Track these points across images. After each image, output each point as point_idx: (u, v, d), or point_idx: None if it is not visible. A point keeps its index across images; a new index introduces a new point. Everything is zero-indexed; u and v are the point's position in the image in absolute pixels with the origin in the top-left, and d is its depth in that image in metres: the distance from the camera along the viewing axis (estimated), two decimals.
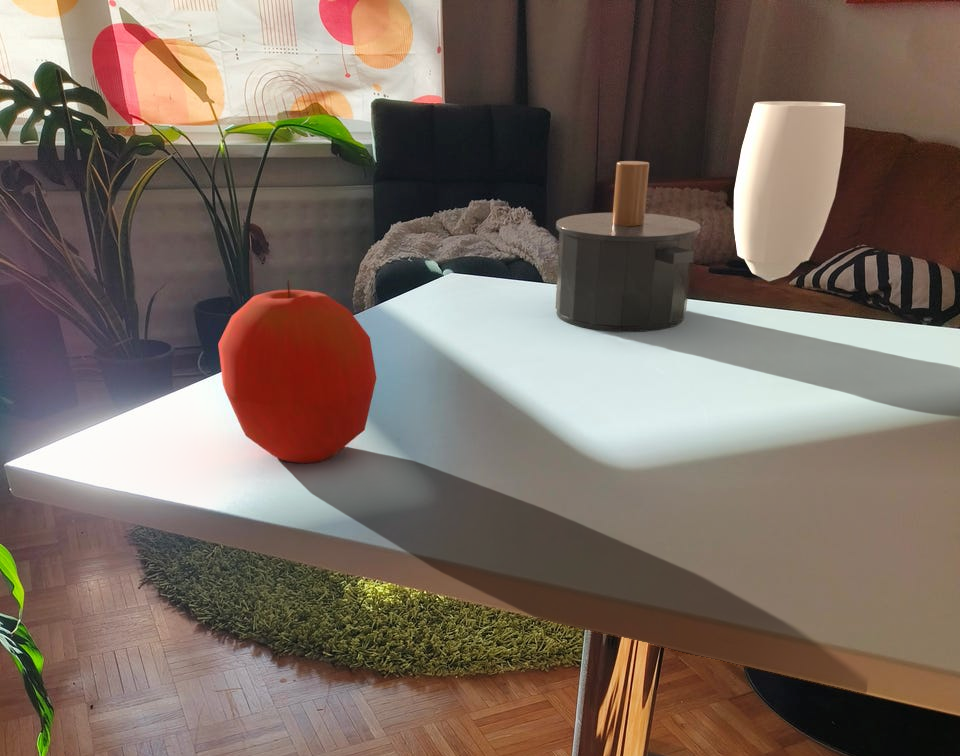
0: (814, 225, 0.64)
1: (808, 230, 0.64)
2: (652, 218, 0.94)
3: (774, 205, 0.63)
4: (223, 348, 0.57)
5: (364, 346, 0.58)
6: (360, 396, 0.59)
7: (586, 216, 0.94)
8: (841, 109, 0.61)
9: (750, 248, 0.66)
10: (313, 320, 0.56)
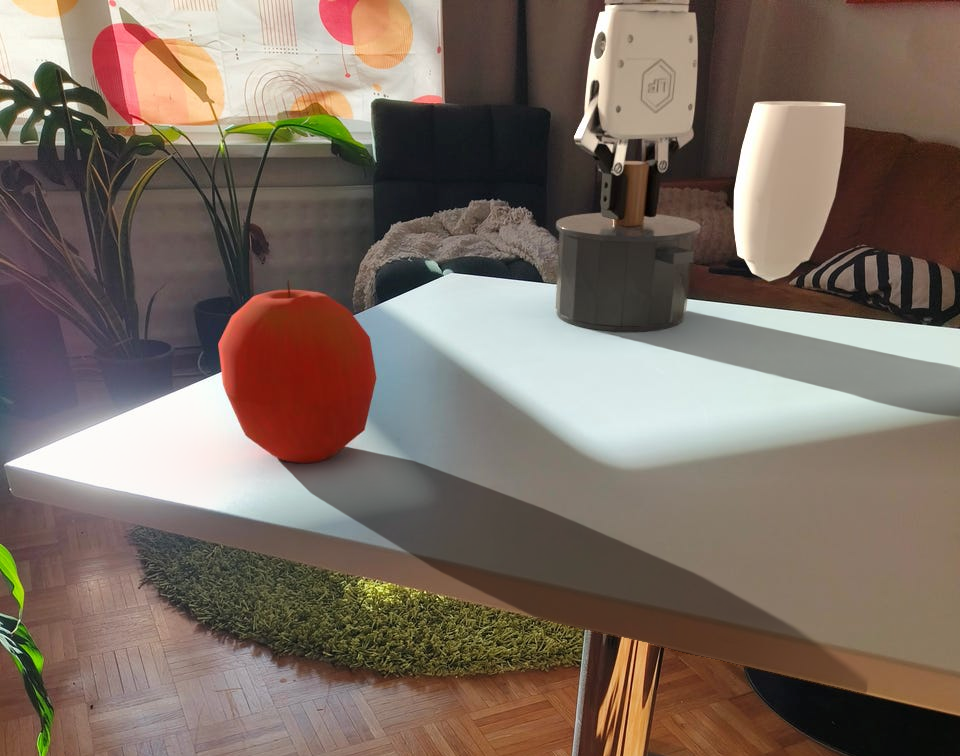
0: (814, 225, 0.64)
1: (808, 230, 0.64)
2: (652, 218, 0.94)
3: (774, 205, 0.63)
4: (223, 348, 0.57)
5: (364, 346, 0.58)
6: (360, 396, 0.59)
7: (586, 216, 0.94)
8: (841, 109, 0.61)
9: (750, 248, 0.66)
10: (313, 320, 0.56)
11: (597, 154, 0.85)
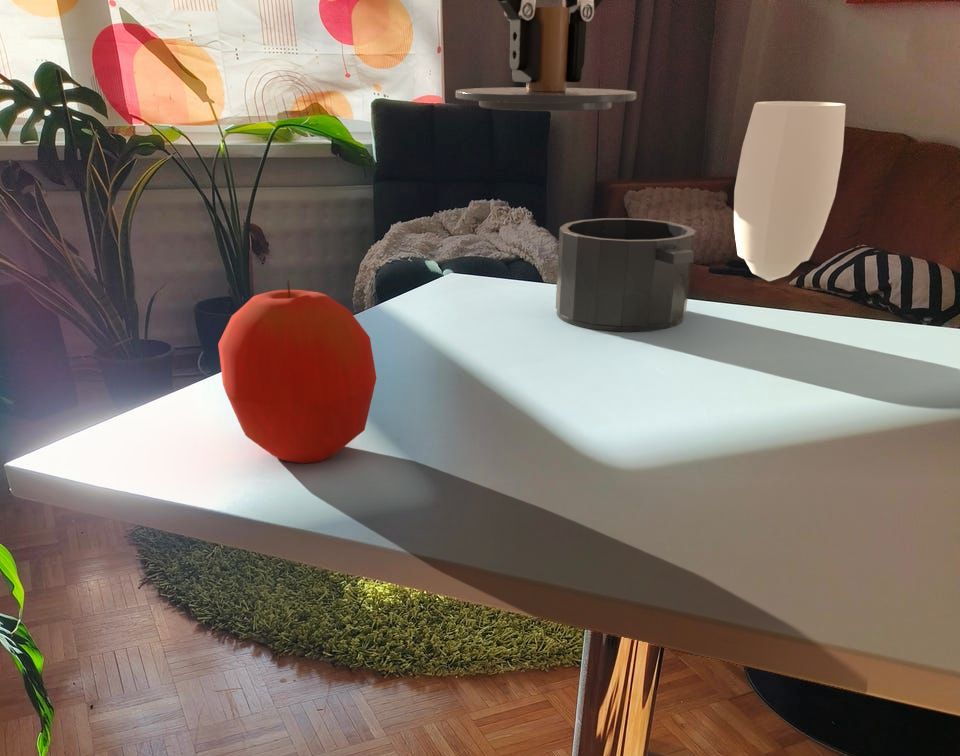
0: (815, 225, 0.64)
1: (808, 230, 0.64)
2: (579, 89, 0.75)
3: (774, 205, 0.63)
4: (223, 348, 0.57)
5: (364, 346, 0.58)
6: (360, 396, 0.59)
7: (498, 88, 0.76)
8: (841, 109, 0.61)
9: (750, 248, 0.66)
10: (313, 320, 0.56)
11: None
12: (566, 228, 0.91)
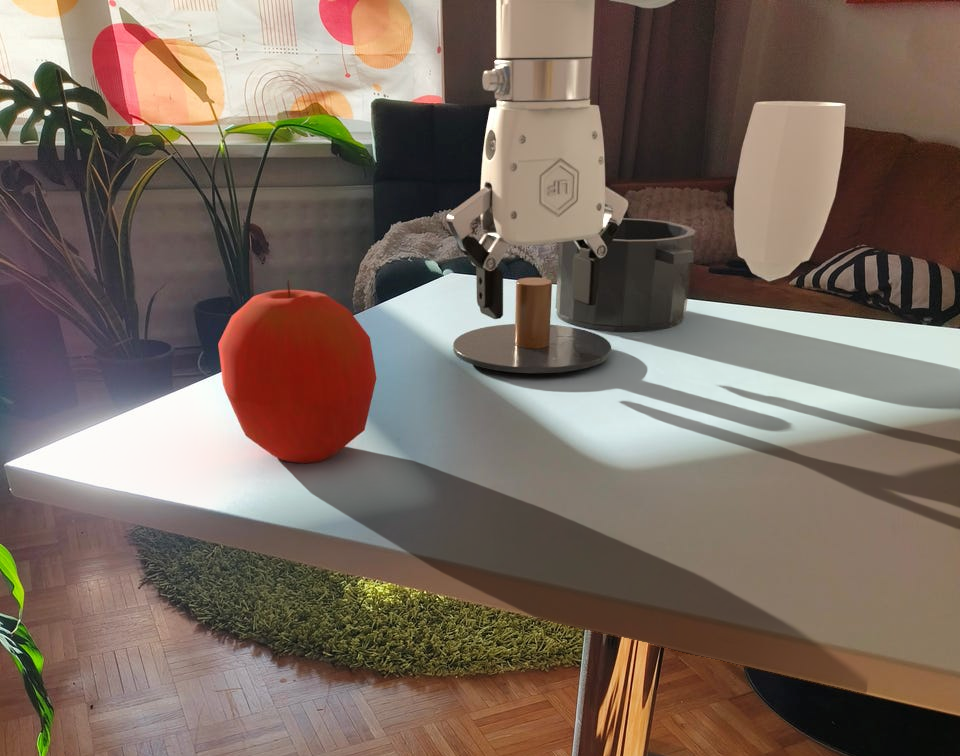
0: (815, 225, 0.64)
1: (808, 230, 0.64)
2: (562, 334, 0.85)
3: (774, 205, 0.63)
4: (223, 348, 0.57)
5: (364, 346, 0.58)
6: (360, 396, 0.59)
7: (490, 330, 0.86)
8: (841, 109, 0.61)
9: (750, 248, 0.66)
10: (313, 320, 0.56)
11: (464, 245, 0.74)
12: None
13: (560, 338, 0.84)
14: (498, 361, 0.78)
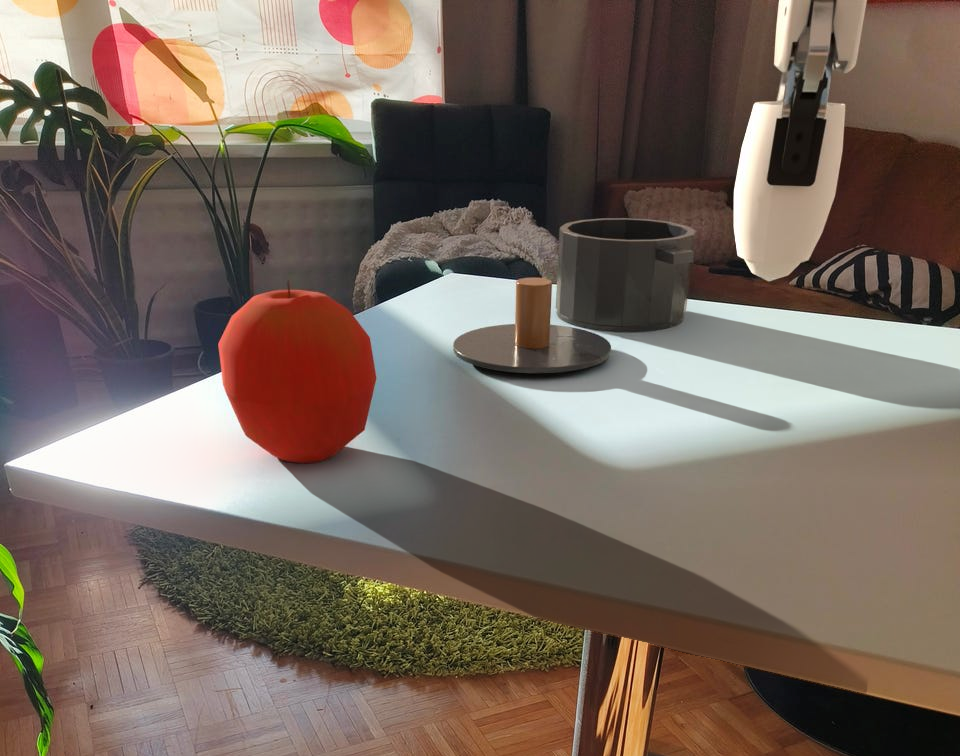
0: (814, 225, 0.64)
1: (808, 230, 0.64)
2: (562, 334, 0.85)
3: (774, 205, 0.63)
4: (223, 348, 0.57)
5: (364, 346, 0.58)
6: (360, 396, 0.59)
7: (490, 330, 0.86)
8: (841, 109, 0.61)
9: (750, 248, 0.66)
10: (313, 320, 0.56)
11: (818, 85, 0.56)
12: (566, 228, 0.91)
13: (560, 338, 0.84)
14: (498, 361, 0.78)
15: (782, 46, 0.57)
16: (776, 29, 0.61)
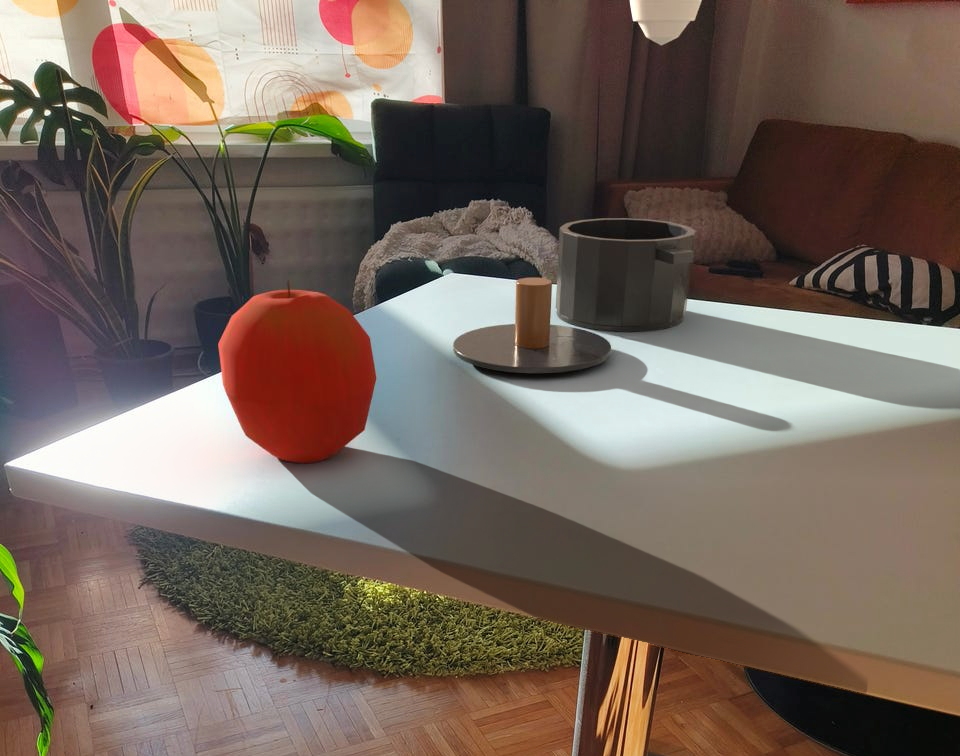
0: None
1: None
2: (562, 334, 0.85)
3: None
4: (223, 348, 0.57)
5: (364, 346, 0.58)
6: (360, 396, 0.59)
7: (490, 330, 0.86)
8: None
9: (641, 8, 0.76)
10: (313, 320, 0.56)
11: None
12: (566, 228, 0.91)
13: (560, 338, 0.84)
14: (498, 361, 0.78)
15: None
16: None
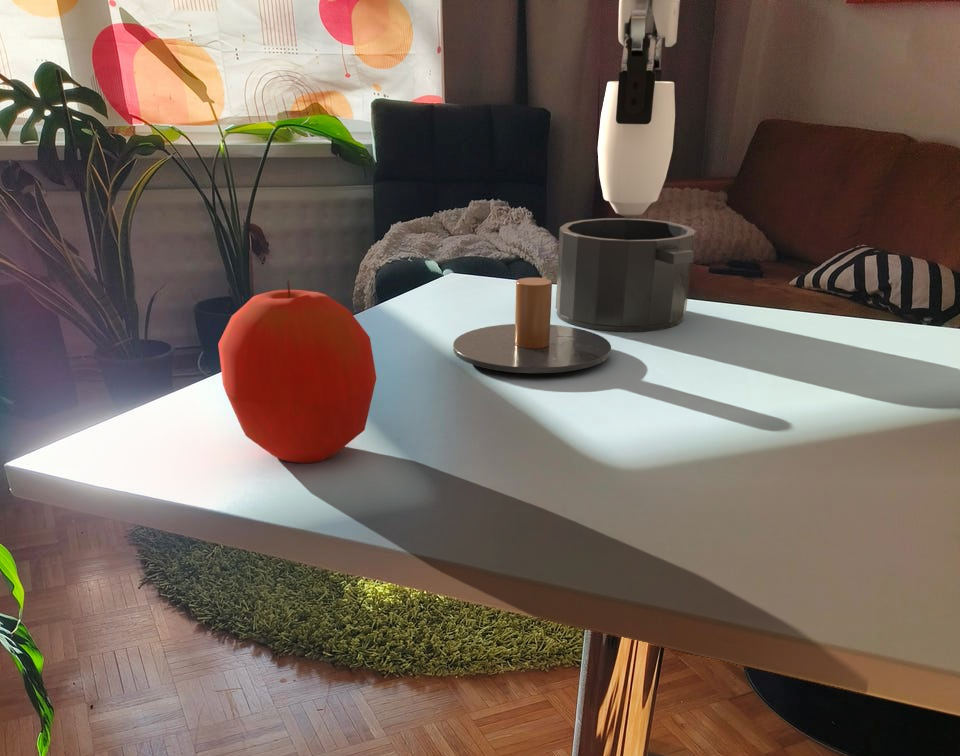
0: (655, 173, 0.86)
1: (650, 177, 0.86)
2: (562, 334, 0.85)
3: (623, 158, 0.85)
4: (223, 348, 0.57)
5: (364, 346, 0.58)
6: (360, 396, 0.59)
7: (490, 330, 0.86)
8: (668, 85, 0.82)
9: (610, 192, 0.88)
10: (313, 320, 0.56)
11: (642, 44, 0.76)
12: (566, 228, 0.91)
13: (560, 338, 0.84)
14: (498, 361, 0.78)
15: (618, 26, 0.78)
16: None
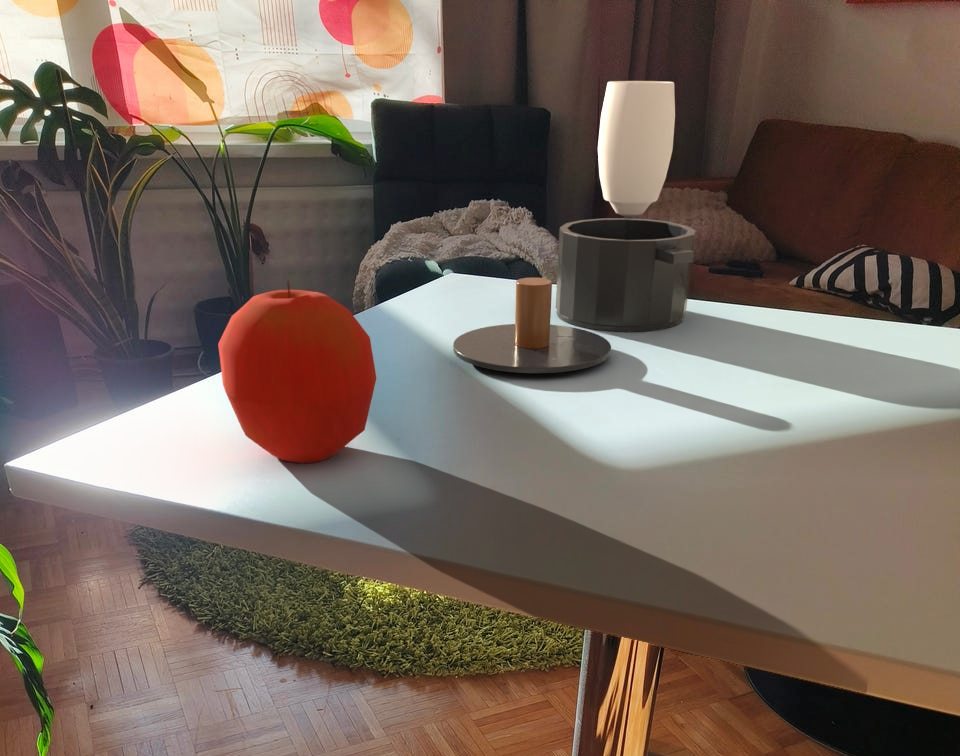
0: (655, 173, 0.86)
1: (650, 177, 0.86)
2: (562, 334, 0.85)
3: (623, 158, 0.85)
4: (223, 348, 0.57)
5: (364, 346, 0.58)
6: (360, 396, 0.59)
7: (490, 330, 0.86)
8: (668, 85, 0.82)
9: (610, 192, 0.88)
10: (313, 320, 0.56)
11: None
12: (566, 228, 0.91)
13: (560, 338, 0.84)
14: (498, 361, 0.78)
15: None
16: None
